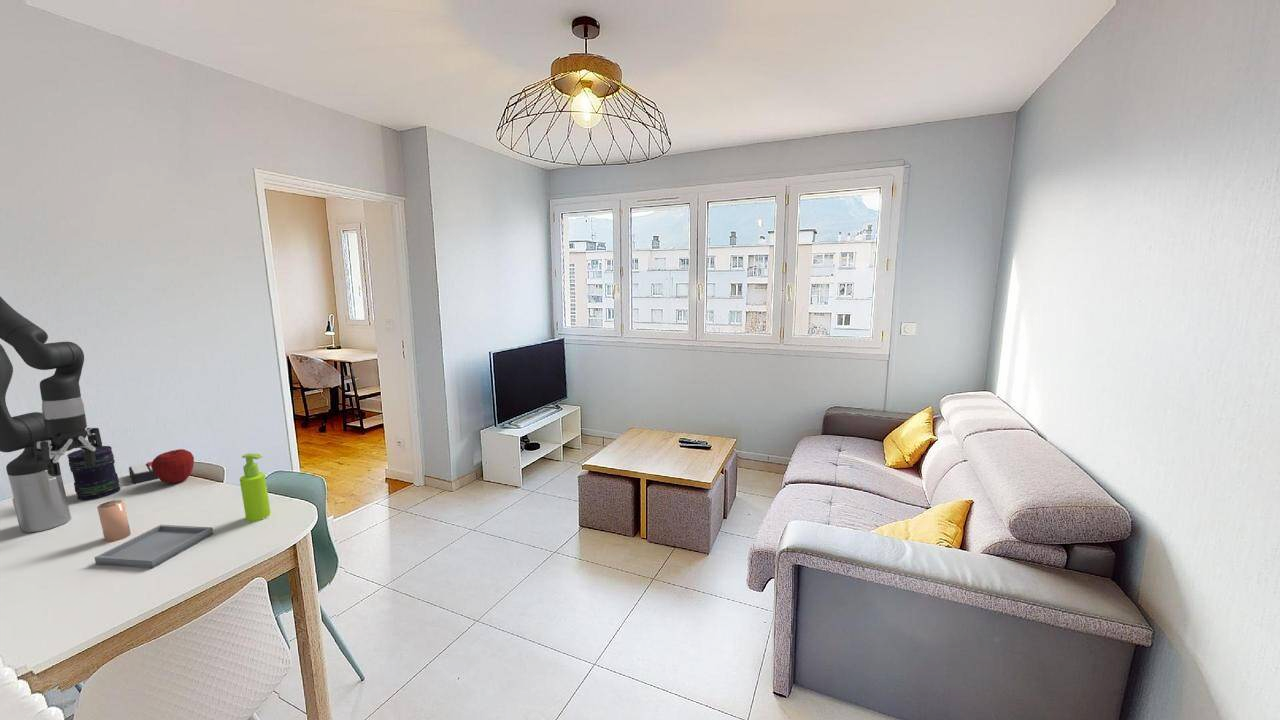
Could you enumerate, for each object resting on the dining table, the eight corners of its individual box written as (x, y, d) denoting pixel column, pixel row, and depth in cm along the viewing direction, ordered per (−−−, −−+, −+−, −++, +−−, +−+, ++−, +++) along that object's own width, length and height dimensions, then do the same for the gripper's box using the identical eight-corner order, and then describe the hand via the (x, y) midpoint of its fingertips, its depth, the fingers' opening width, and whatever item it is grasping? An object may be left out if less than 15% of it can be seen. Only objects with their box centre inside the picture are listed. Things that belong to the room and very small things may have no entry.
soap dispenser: (260, 523, 144) (250, 459, 140) (241, 520, 145) (230, 457, 141) (278, 513, 149) (269, 451, 146) (259, 511, 151) (250, 450, 147)
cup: (99, 541, 134) (91, 507, 132) (120, 531, 139) (112, 499, 137) (115, 542, 133) (108, 508, 132) (135, 532, 138) (128, 499, 136)
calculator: (190, 461, 180) (132, 473, 168) (191, 473, 180) (133, 484, 169) (184, 454, 187) (128, 464, 175) (185, 465, 187) (129, 476, 176)
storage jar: (93, 488, 165) (84, 447, 163) (128, 485, 168) (120, 444, 165) (67, 502, 156) (57, 458, 153) (105, 499, 158) (95, 455, 155)
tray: (96, 564, 124) (94, 557, 123) (162, 531, 139) (160, 524, 139) (153, 568, 122) (151, 560, 122) (213, 533, 138) (212, 527, 137)
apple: (179, 474, 177) (173, 443, 175) (205, 475, 176) (200, 444, 174) (146, 487, 166) (139, 455, 164) (174, 489, 165) (168, 456, 163)
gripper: (79, 407, 142) (87, 460, 145) (18, 420, 128) (28, 479, 130) (105, 408, 142) (113, 461, 145) (47, 421, 128) (57, 480, 131)
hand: (73, 469), depth 138 cm, fingers open, 8 cm apart
